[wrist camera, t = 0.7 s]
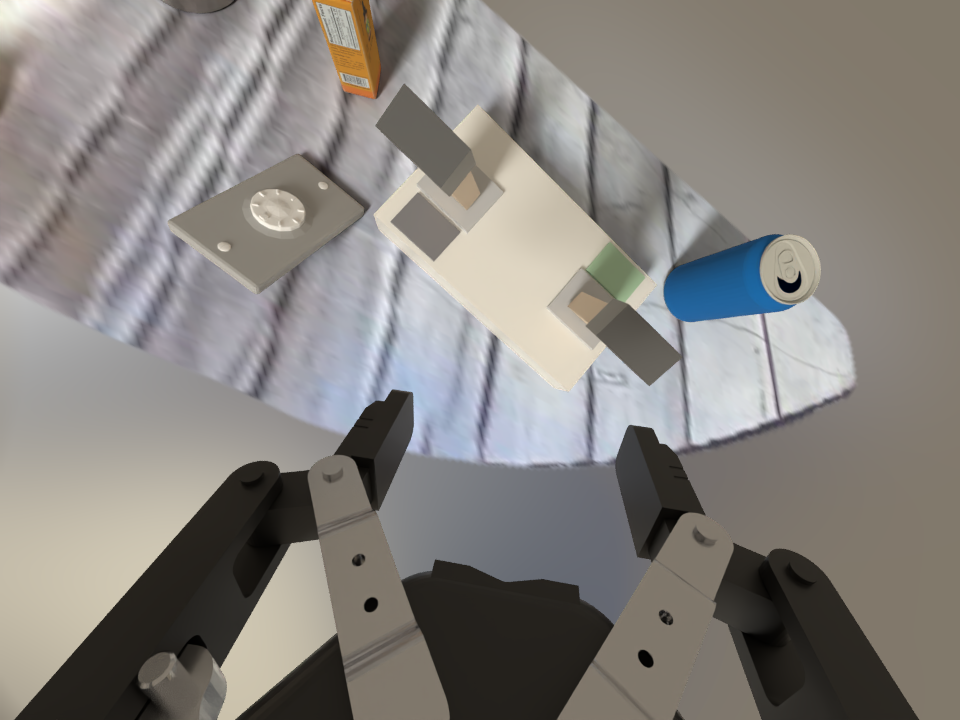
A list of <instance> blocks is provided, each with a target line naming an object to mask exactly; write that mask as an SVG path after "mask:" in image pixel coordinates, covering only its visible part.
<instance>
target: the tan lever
mask: <svg viewBox="0 0 960 720" xmlns="http://www.w3.org/2000/svg"><path fill="white" fill-rule="evenodd" d="M568 307H569V308H570V309H571V310H572V311H573V312H574V313H575V314H576V315H577V316H578V317H579V318H580V319H581V320H582V321H584V322H585V323H586V324H587V325H586V327H587V328H588V329H589V330H590V331H591V332H592V333H593V334H594V335H595V336H596V337H597V338H598V339H599V340H600V341H601V342H603V343H604V344H605V345H606V346H607V347H608V348H609V349H610V350H611V351H612V352H613V353H614V354H615V355H616V356H617V357H618V358H619V359H620V360H621V361H623V362H624V363H625V364H626V365H627V366H628V367H629V368H630V369H631V370H632V371H633V372H634V373H635V374H636V375H638V376H639V377H640V378H641V379H642V380H643V381H644V382H645V383H646V384H647V385H649V386H650V385H651V384H652V383H653V382H655V381H656V380H657V379H658V378H659V377H660V376H661V375H663V374H664V373H665V372H666V371H667V370H668V369H669V368H671V367H672V366H673V365H674V364H675V363H676V362H677V361H679V360H680V359H681V358H682V356H681V355H680V354H679V353H678V352H677V351H676V350H675V349H674V348H673V347H672V346H671V345H670V344H669V343H668V342H667V341H666V340H665V339H664V338H663V337H662V336H661V335H660V334H659V333H658V332H657V331H656V330H655V329H654V328H653V327H652V326H651V325H650V324H649V323H648V322H647V321H645V320H644V319H643V318H642V317H641V316H640V315H639V314H638V313H637V312H636V311H635V310H634V309H633V308H632V307H631V306H630V305H629V304H627V303H625V302H622V301H619V300H617V299H614V298H613V299H612V300H611V301H610V302H609V303H606V302H604V301H602V300H600V299H597V298H595V297H593V296H591V295H588V294H586V293H584V292H581V293H580V294H579V295H578V296H577V297H576V298H575V299H574V300H573V301H572V302H571V303H570V304H569V305H568Z"/></svg>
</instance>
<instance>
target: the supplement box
mask: <svg viewBox="0 0 960 720" xmlns="http://www.w3.org/2000/svg"><path fill="white" fill-rule="evenodd" d="M312 2H313V5H314V7H315V10H316V13H317V16H318V18H319V21H320V24H321V27H322V30H323V33H324V36H325V38H326V41H327V44H328V47H329V50H330V53H331V56H332V59H333V62H334V64H335V67H336V70H337V73H338V76H339V79H340V82H341V84H342V87H343V90H344V91H345V92H348V93H352V94H356V95H360V96H364V97H368V98H372V99H376V96H377V90H378V85H379V78H380V72H381V64H380V58H379V53H378V47H377V42H376V37H375V31H374V26H373V20H372V15H371V10H370V5H369V0H312Z"/></svg>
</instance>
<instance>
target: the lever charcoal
mask: <svg viewBox="0 0 960 720" xmlns="http://www.w3.org/2000/svg"><path fill="white" fill-rule="evenodd" d="M375 126H376V127H377V128H378V129H379V130H380V131H381V132H382V133H383V134H384V135H385V136H386V137H387V138H388V139H389V140H390V141H391V142H392V143H393V144H394V145H395V146H396V147H397V148H398V149H399V150H400V151H401V152H403V153H404V154H405V155H406V156H407V157H408V158H409V159H410V160H411V161H412V162H413V163H414V164H415V165H416V166H417V167H418V168H419V169H420V170H421V171H423V172H424V173H425V174H426V175H427V176H428V177H429V178H430V179H431V180H432V181H433V182H434V183H435V184H436V185H437V186H438V187H439V188H440V189H441V190H443V191H444V192H445V193H446V194H447V195H448V196H449V197H450V196H452V197H453V198H454V199H455V200H456V201H457V202H458V203H459V204H461V205H462V206H463V207H464V208H465V209H466V210H468V209H469V207H470V206H471V205H472V204H473V203H474V201H475V200H476V199H477V198H478V196H479V195H480V191H479V189H478V187H477V184H476V182H475V180H474V177H473V175H472V172H471V170H472V168H473V167H474V166H475V165H476V162H475V159H474V156H473V153H472V150H471V149H470V148H469V147H468V146H467V145H466V144H465V143H464V142H463V141H462V140H461V139H460V138H459V137H458V136H457V135H456V134H455V133H454V132H453V131H452V130H451V129H450V128H449V127H448V126H447V125H446V124H445V123H444V122H443V121H442V120H441V119H440V118H439V117H438V116H437V115H436V114H435V113H434V112H433V111H432V110H431V109H430V108H429V107H428V106H427V105H426V104H425V103H424V102H423V101H422V100H421V99H420V98H419V97H418V96H417V95H415V94H414V93H413V92H412V91H411V90H410V89H409V88H408V87H407V86H406V85H405V84H404V85H403V86H402V87H401V89H400V90H399V92H398V93H397V95H396V96H395V98H394V99H393V101H392V102H391V103H390V105H389V106H388V108H387V109H386V111H385V112H384V114H383V115H382V117H381V118H380V120H379V121H378V122H377V124H376V125H375Z"/></svg>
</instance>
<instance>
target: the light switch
mask: <svg viewBox="0 0 960 720" xmlns="http://www.w3.org/2000/svg"><path fill="white" fill-rule="evenodd" d="M363 213H364V207H363V206H362V205H360V204H359V203H358V202H357V201H356V200H354V199H353V198H352V197H351V196H349V195H348V194H347V193H346V192H345V191H343V190H342V189H341V188H340V187H339V186H337V185H336V184H335V183H334V182H332V181H331V180H330V179H329V178H328V177H326V176H325V175H324V174H323V173H322V172H320V171H319V170H318V169H317V168H315V167H314V166H313V165H312V164H311V163H309V162H308V161H307V160H306V159H305V158H303V157H302V156H301V155H300V154H296V155H294V156H292V157H290V158H288V159H286V160H284V161H282V162H280V163H278V164H276V165H274V166H272V167H270V168H269V169H267V170H265V171H263V172H261V173H259V174H257V175H255V176H253V177H251V178H249V179H247V180H245V181H243V182H242V183H240V184H238V185H236V186H234V187H232V188H230V189H228V190H226V191H224V192H222V193H220V194H218V195H216V196H215V197H213V198H211V199H209V200H207V201H205V202H203V203H201V204H199V205H197V206H195V207H193V208H191V209H189V210H188V211H186V212H184V213H182V214H180V215H178V216H176V217H174V218H172V219H170V220H169V221H168V225H169V228H170V230H171V232H173V233H174V234H175V235H177V236H178V237H179V238H181V239H182V240H183V241H185V242H186V243H187V244H189V245H190V246H191V247H193V248H194V249H195V250H197V251H198V252H199V253H201V254H202V255H203V256H205V257H206V258H207V259H209V260H210V261H211V262H213V263H214V264H215V265H217V266H218V267H219V268H221V269H222V270H223V271H225V272H226V273H227V274H229V275H230V276H232V277H233V278H234V279H236V280H237V281H238V282H240V283H241V284H242V285H244V286H245V287H246V288H248V289H249V290H250V291H252V292H253V293H255V294H259V293H261V292H262V291H263V290H265V289H266V288H267V287H269V286H270V285H271V284H273V283H274V282H275V281H277V280H278V279H279V278H281V277H282V276H283V275H285V274H286V273H287V272H289V271H290V270H291V269H293V268H294V267H295V266H297V265H298V264H299V263H301V262H302V261H303V260H305V259H306V258H307V257H309V256H310V255H311V254H313V253H314V252H315V251H317V250H318V249H319V248H321V247H322V246H323V245H325V244H326V243H327V242H329V241H330V240H331V239H333V238H334V237H335V236H337V235H338V234H339V233H341V232H342V231H343V230H345V229H346V228H347V227H349V226H350V225H352V224H353V223H354V222H356V221H357V220H358V219H360V218H361V217H362V216H363Z"/></svg>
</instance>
